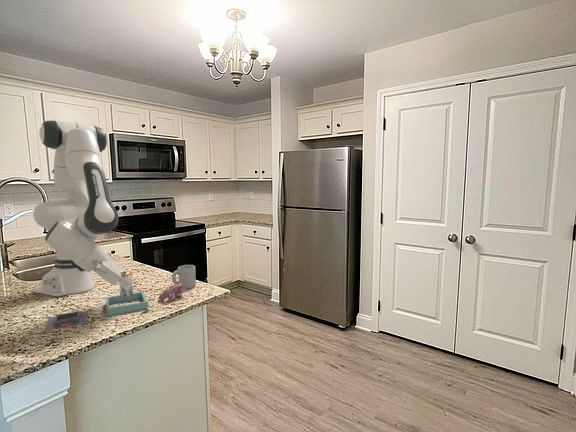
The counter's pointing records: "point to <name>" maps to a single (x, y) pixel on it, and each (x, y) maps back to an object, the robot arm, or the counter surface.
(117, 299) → the bin
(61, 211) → the robot arm
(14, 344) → the counter surface
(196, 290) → the counter surface
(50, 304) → the counter surface
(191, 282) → the cup
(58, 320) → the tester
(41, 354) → the counter surface
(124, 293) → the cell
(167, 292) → the video game controller
